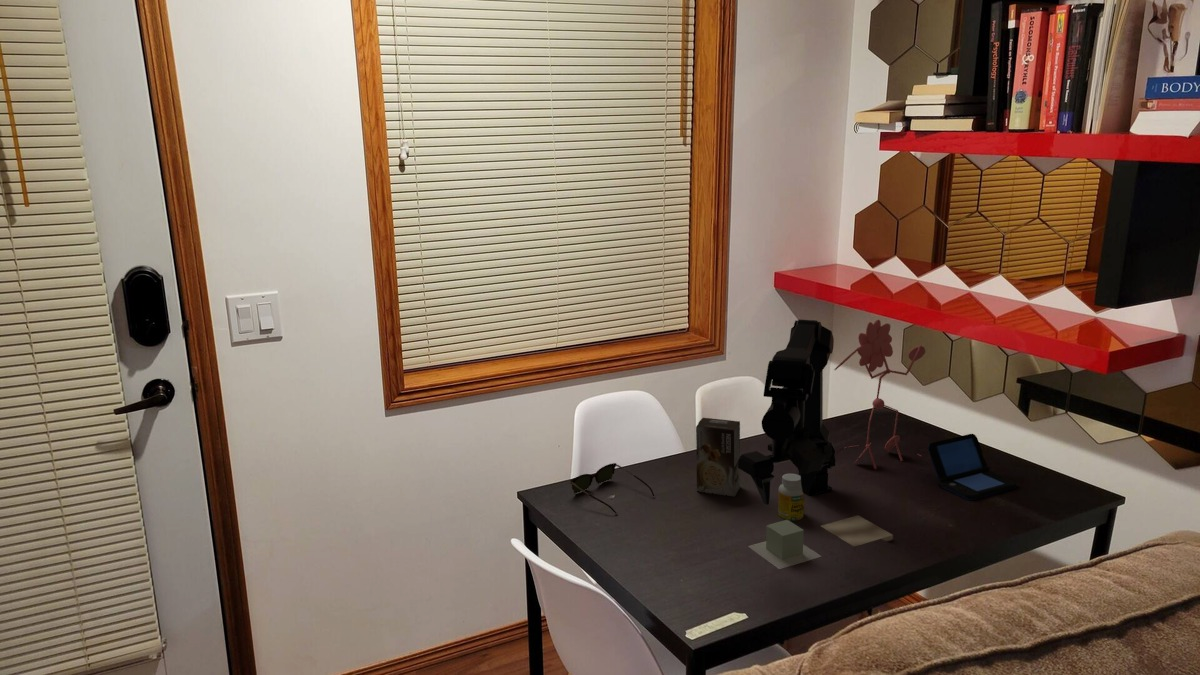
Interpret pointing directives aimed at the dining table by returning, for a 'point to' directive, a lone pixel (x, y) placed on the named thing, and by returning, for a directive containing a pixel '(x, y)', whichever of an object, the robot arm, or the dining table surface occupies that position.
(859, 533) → the birch pad
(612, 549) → the dining table surface
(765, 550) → the grey pad
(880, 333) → the figurine
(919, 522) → the dining table surface
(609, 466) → the sunglasses
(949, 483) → the handheld game console
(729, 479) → the coffee box
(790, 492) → the supplement bottle
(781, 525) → the sage block
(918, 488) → the dining table surface
